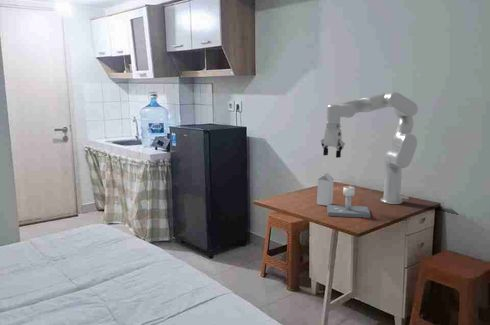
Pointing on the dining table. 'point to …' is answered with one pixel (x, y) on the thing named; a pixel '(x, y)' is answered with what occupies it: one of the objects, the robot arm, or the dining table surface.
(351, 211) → the post stand
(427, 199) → the dining table surface
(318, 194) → the milk carton
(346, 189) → the white rounded lump
